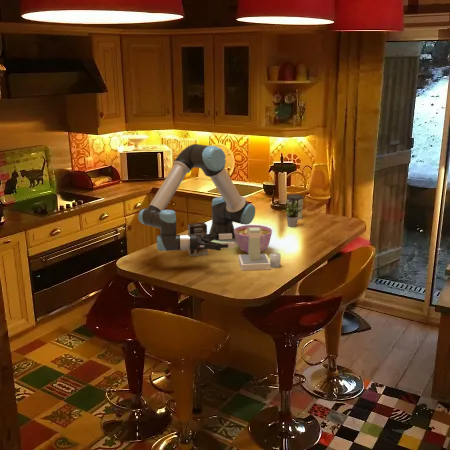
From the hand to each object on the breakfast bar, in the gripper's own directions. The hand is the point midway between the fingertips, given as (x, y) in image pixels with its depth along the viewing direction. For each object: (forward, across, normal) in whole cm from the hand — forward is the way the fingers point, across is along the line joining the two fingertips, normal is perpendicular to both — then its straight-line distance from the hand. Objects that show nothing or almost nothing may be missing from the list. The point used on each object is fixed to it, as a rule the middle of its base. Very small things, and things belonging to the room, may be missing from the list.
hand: (233, 240), depth 259 cm
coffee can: (+48, -82, -13) cm, 95 cm away
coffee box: (-17, -19, -13) cm, 29 cm away
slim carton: (+10, 0, -10) cm, 14 cm away
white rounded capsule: (+20, +3, -13) cm, 24 cm away
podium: (+10, 0, -13) cm, 16 cm away
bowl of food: (+12, -20, -13) cm, 27 cm away
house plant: (+42, -62, -13) cm, 76 cm away
